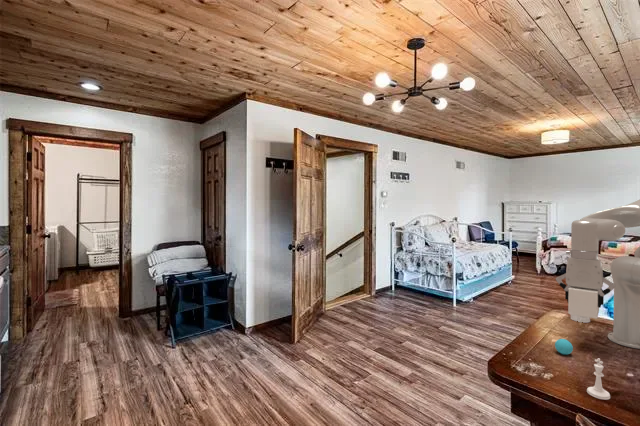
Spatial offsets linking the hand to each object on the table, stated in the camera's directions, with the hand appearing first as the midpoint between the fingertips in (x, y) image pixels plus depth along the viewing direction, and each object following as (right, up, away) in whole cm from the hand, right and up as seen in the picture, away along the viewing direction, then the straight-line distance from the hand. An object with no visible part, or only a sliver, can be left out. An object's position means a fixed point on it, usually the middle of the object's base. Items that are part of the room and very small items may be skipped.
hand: (583, 303), depth 117 cm
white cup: (+20, -15, +27) cm, 36 cm away
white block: (0, -3, 0) cm, 3 cm away
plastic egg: (-10, -14, -3) cm, 17 cm away
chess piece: (-17, -18, -27) cm, 36 cm away
